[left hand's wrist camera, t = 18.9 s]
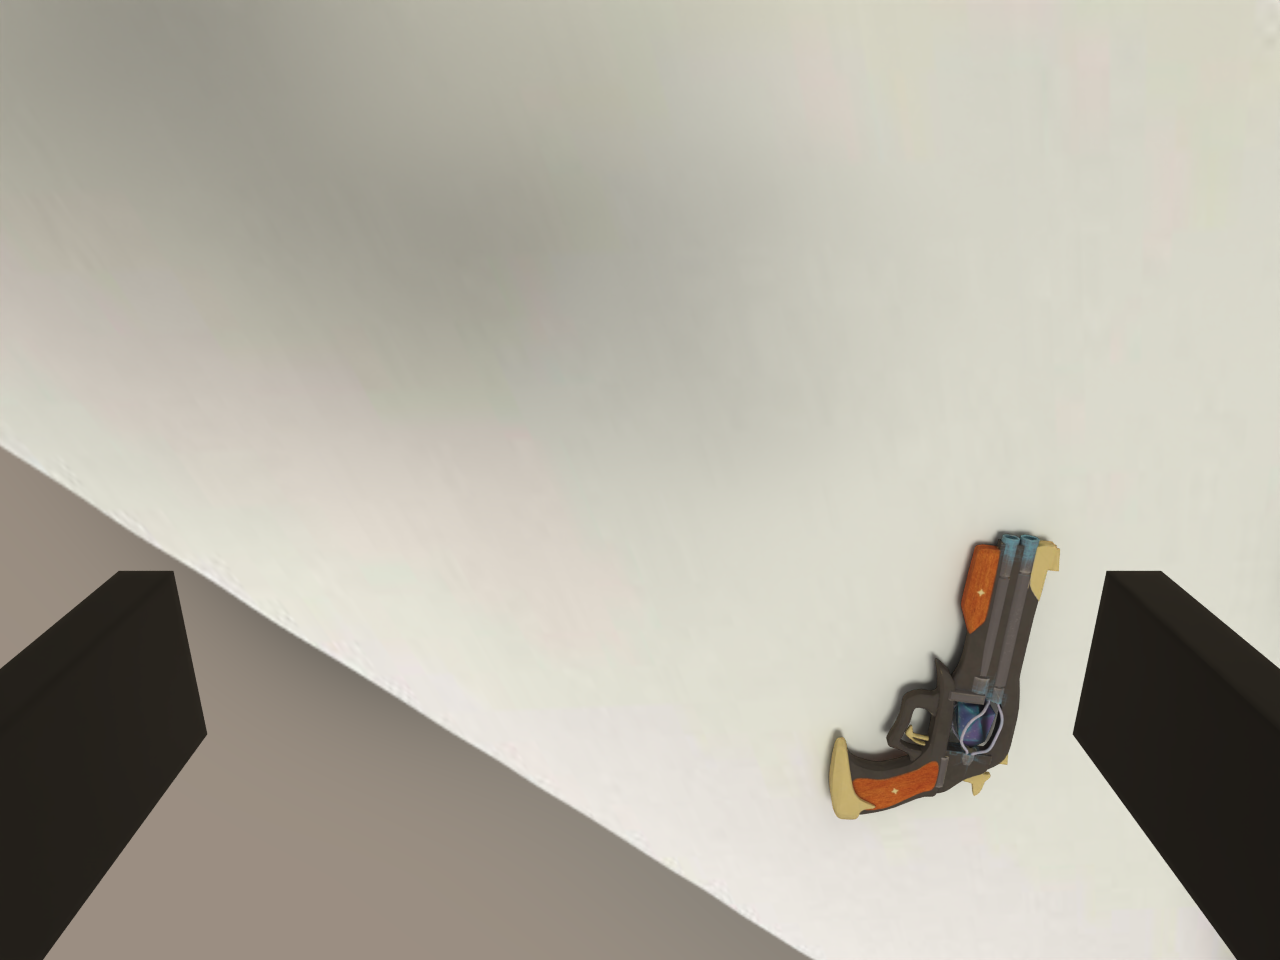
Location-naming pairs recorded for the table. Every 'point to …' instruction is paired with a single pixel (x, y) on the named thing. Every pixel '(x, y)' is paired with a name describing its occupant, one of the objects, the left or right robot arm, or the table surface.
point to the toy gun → (959, 690)
